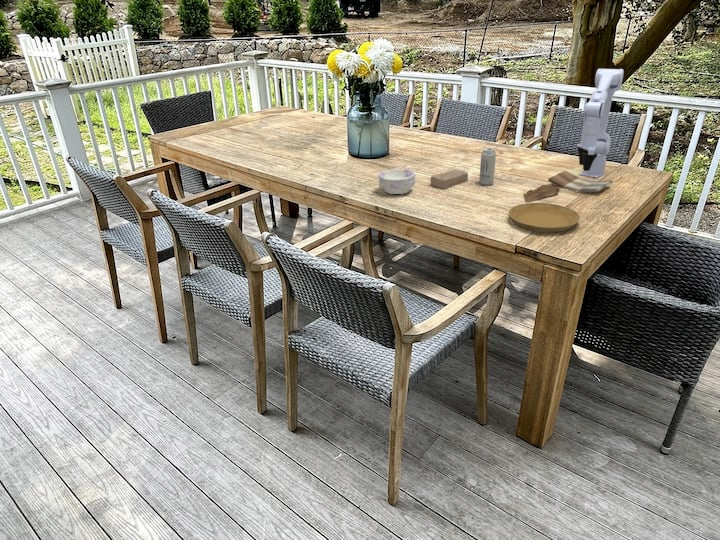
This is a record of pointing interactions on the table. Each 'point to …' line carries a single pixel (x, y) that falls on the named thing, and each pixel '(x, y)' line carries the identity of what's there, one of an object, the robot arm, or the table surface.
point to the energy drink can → (487, 166)
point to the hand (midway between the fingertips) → (584, 167)
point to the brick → (449, 179)
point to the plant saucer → (544, 217)
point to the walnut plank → (562, 178)
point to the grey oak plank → (596, 186)
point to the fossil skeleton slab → (541, 192)
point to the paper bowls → (397, 180)
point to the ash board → (578, 184)
